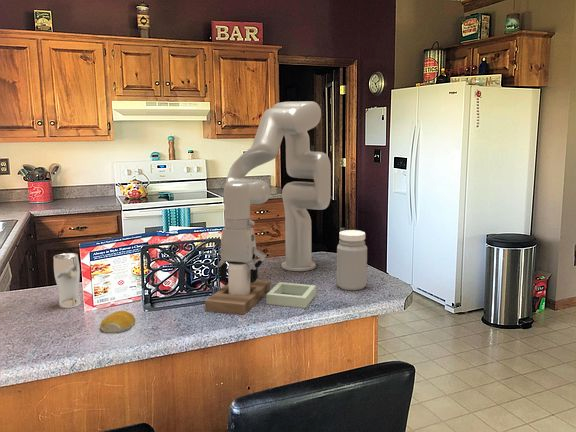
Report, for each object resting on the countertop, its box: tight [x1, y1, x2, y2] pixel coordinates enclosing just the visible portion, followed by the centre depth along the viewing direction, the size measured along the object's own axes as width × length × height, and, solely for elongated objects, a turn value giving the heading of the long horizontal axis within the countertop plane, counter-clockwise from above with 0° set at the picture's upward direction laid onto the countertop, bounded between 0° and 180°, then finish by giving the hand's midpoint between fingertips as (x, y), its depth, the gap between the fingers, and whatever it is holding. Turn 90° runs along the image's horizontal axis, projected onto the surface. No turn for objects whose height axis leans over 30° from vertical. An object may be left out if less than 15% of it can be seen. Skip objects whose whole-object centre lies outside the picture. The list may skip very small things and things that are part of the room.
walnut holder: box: [204, 279, 272, 316], centre depth 156 cm, size 22×12×3 cm, turn 162°
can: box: [227, 262, 251, 296], centre depth 155 cm, size 6×6×12 cm
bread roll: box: [99, 310, 136, 334], centre depth 137 cm, size 8×9×4 cm
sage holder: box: [265, 281, 317, 309], centre depth 156 cm, size 12×12×3 cm
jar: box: [336, 229, 368, 291], centre depth 166 cm, size 10×10×18 cm
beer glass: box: [52, 252, 82, 309], centre depth 152 cm, size 7×7×15 cm
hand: (238, 279), depth 155 cm, fingers open, 9 cm apart
